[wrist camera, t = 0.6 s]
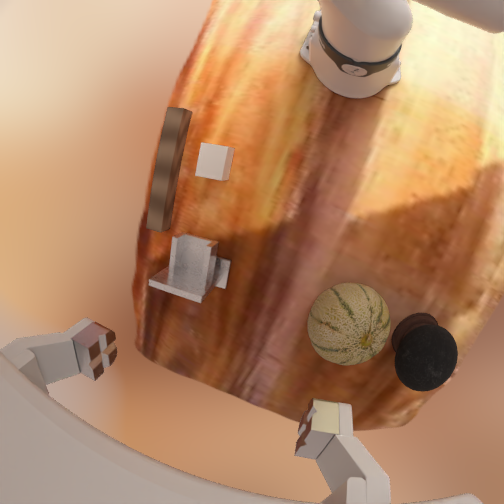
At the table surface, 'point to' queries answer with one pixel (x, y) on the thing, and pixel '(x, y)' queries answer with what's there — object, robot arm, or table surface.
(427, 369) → the black rounded lump
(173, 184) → the walnut rail
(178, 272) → the bracket
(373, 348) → the cantaloupe
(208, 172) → the pale grey block
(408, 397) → the table surface
